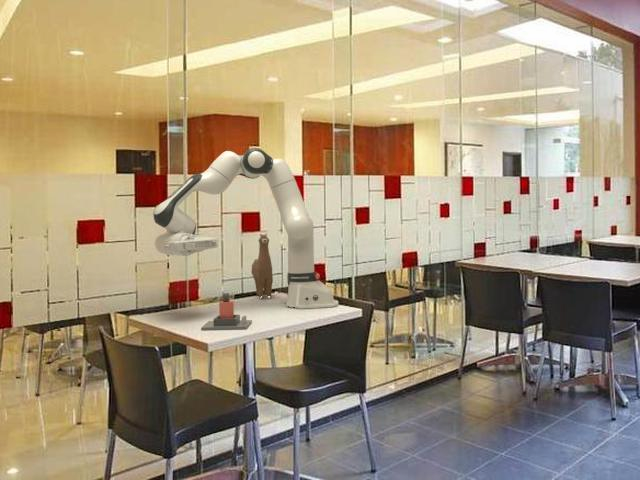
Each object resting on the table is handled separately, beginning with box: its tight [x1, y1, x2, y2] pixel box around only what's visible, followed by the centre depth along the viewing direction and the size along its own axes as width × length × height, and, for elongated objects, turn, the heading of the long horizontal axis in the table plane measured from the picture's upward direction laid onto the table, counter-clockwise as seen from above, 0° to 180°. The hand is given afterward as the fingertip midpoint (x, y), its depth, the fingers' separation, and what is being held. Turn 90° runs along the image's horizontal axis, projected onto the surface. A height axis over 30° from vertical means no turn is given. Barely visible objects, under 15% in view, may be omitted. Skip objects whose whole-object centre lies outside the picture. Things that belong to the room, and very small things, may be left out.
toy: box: [250, 233, 274, 298], centre depth 287 cm, size 9×20×30 cm, turn 13°
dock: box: [200, 314, 253, 331], centre depth 221 cm, size 16×12×4 cm
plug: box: [218, 292, 235, 319], centre depth 221 cm, size 4×4×11 cm
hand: (205, 244), depth 232 cm, fingers open, 8 cm apart
